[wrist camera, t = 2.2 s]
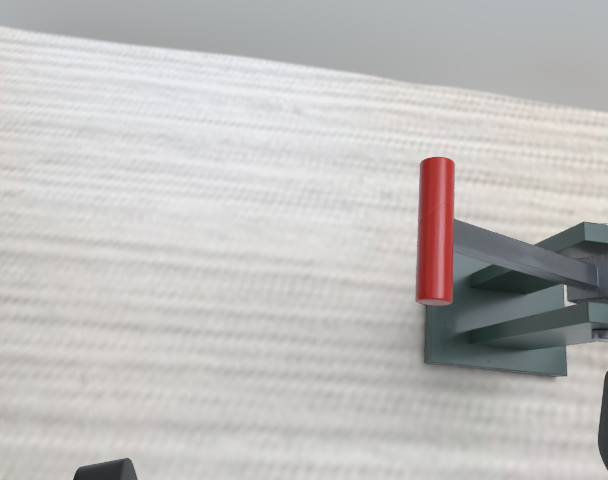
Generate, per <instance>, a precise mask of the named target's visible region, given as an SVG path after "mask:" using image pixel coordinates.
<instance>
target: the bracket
mask: <svg viewBox="0 0 608 480" xmlns="http://www.w3.org/2000/svg"><path fill="white" fill-rule="evenodd" d="M534 246H537V247H540V248H543V249H546V250H549V251H552V252H555V253H558V254H561V255H565V256H568V257H571V258H574V259H577V258H583V257H589V256H595V255H601V254H607V253H608V224H597V223H590V222H582V223H580V224H578V225H576V226H574V227H571V228H569V229H567V230H565V231H563V232H561V233H558V234H556V235H554V236H552V237H550V238H548V239H545V240H543V241H541V242H539V243H537V244H535V245H534ZM590 342H606V343H608V304H604V303H596V302H584V303H580V304H576V305H572V306H568V307H564V285H563V284H560V283H557V282H554V281H550V280H547V279H543V278H540V277H536V276H533V275H529V274H526V273H522V272H519V271H515V270H512V269H508V268H505V267H501V266H498V265H495V264H491V263H488V262H484V261H481V260H477V259H474V258H470V257H467V256H463V255H460V254H456V253H453V302H452V303H451V304H449V305H441V306H435V305H427V306H426V341H425V363H428V364H438V365H448V366H458V367H468V368H478V369H488V370H498V371H508V372H518V373H528V374H538V375H548V376H567V362H566V346H567V345H575V344H582V343H590Z"/></svg>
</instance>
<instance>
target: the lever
mask: <svg viewBox="0 0 608 480" xmlns="http://www.w3.org/2000/svg"><path fill="white" fill-rule="evenodd" d="M454 176H455V164H454V162H453V161H452V160H451V159H448V158H444V157H432V158H427V159H425V160H423V161H422V162H421V163H420V178H419V208H418V237H417V267H416V297H415V300H416V302H418V303H420V304H425V305H435V306H441V305H449V304H451V303H452V302H453V253H456V254H460V255H463V256H467V257H470V258H474V259H477V260H481V261H484V262H488V263H491V264H495V265H498V266H501V267H505V268H508V269H512V270H515V271H519V272H522V273H526V274H529V275H533V276H536V277H540V278H543V279H547V280H550V281H554V282H557V283H560V284H564V285H567V301H569V302H573V303H576V304H580V303H584V302H596V303H604V304H608V253H607V254H601V255H595V256H589V257H583V258H577V259H574V258H571V257H568V256H565V255H561V254H558V253H555V252H552V251H549V250H546V249H543V248H540V247H537V246H534V245H531V244H528V243H525V242H522V241H519V240H516V239H513V238H510V237H507V236H504V235H501V234H498V233H495V232H492V231H489V230H486V229H483V228H480V227H477V226H474V225H471V224H468V223H465V222H461V221H458V220H455V219H454Z"/></svg>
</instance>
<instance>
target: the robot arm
mask: <svg viewBox="0 0 608 480" xmlns="http://www.w3.org/2000/svg"><path fill="white" fill-rule="evenodd" d="M598 446H599V451H600V454H601V457H602V460H603V462H604V464H605V466H606V468H607V470H608V371H607V373H606V375H605V379H604V388H603V397H602V406H601V415H600V424H599V433H598ZM73 480H137V476H136V473H135V469H134V466H133V464H132V461H131V460H130V459H129V458H125V459H119V460H114V461H109V462H104V463H98V464H93V465H88V466H83V467H80V468H78V470H77V471H76V473H75V476H74V479H73Z"/></svg>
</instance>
